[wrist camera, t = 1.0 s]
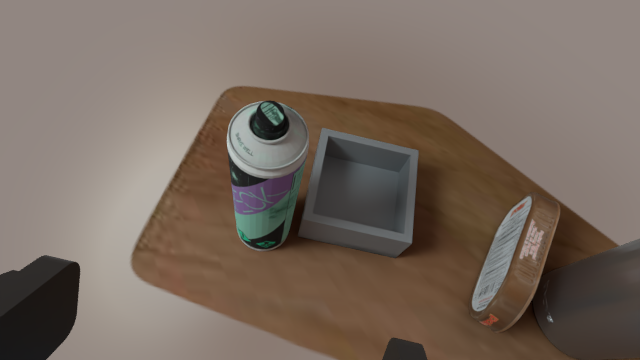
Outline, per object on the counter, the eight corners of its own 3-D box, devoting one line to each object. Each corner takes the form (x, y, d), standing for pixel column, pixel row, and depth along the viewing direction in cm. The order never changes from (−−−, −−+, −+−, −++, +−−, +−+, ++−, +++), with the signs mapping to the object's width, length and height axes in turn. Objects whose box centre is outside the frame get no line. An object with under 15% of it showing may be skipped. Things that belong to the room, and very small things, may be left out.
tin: (481, 338, 40) (533, 329, 32) (453, 321, 40) (498, 307, 32) (523, 221, 46) (574, 191, 39) (499, 207, 47) (545, 175, 39)
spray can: (247, 195, 43) (242, 65, 25) (296, 210, 43) (325, 90, 25) (229, 242, 40) (208, 133, 22) (280, 258, 40) (301, 162, 22)
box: (403, 172, 47) (418, 150, 42) (395, 258, 42) (411, 243, 38) (315, 151, 46) (322, 127, 42) (297, 236, 41) (302, 219, 37)
